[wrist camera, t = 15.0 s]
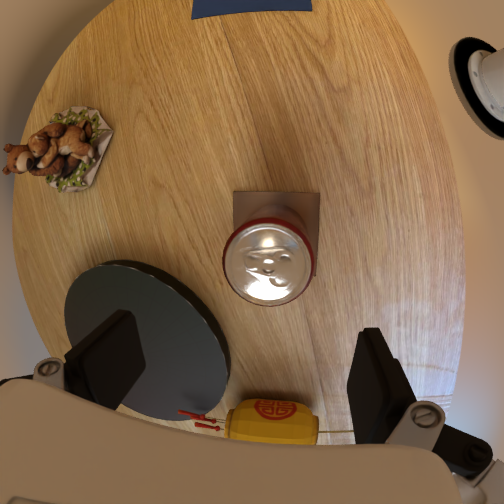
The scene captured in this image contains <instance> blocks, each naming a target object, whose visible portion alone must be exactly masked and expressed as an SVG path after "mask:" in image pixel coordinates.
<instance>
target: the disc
mask: <svg viewBox="0 0 504 504" xmlns="http://www.w3.org/2000/svg"><path fill="white" fill-rule="evenodd" d="M118 309H122V310H128V311H131V312H132V314H133V315H134V316H135V318H136V323H137V327H138V332H139V337H140V341H141V345H142V350H143V354H144V358H145V362H146V368H145V370H144V372H143V373H142V374H141V376H140V377H139V379H138V380H137V381H136V383H135V384H134V385H133V387H132V388H131V390H130V391H129V392H128V394H127V395H126V396H125V398H124V399H123V401H122V402H121V404H123V405H125V406H126V407H128V408H130V409H132V410H134V411H136V412H138V413H141V414H144V415H147V416H150V417H153V418H157V419H162V420H171V421H183V420H190V416H189V415H183V414H178V410H179V409H180V410H183V411H187V412H191V413H195V414H199V415H201V414H204V415H205V414H206V413H208V412H209V411H211V410H212V409H214V408H215V406H216V405H217V404H218V403H219V401H220V400H221V399H222V397H223V394H224V391H225V389H226V385H227V382H228V379H229V376H230V366H231V359H230V353H229V347H228V344H227V341H226V338H225V336H224V333H223V331H222V328H221V327H220V325H219V323H218V322H217V320H216V319H215V317H214V315H213V314H212V312H211V311H210V310H209V308H208V307H207V306H206V305H205V304H204V303H203V302H202V300H201V299H200V298H199V297H198V296H197V295H196V294H195V293H194V292H193V291H191V290H190V289H189V288H188V287H187V286H186V285H184V284H183V283H182V282H181V281H180V280H178V279H176V278H175V277H173V276H171V275H170V274H168V273H166V272H165V271H163V270H161V269H159V268H156V267H154V266H151V265H149V264H146V263H143V262H137V261H132V260H111V261H108V262H105V263H102V264H99V265H97V266H96V267H94V268H91V269H88V270H86V271H85V272H83V273H82V274H81V275H79V276H78V277H77V278H76V279H75V281H74V282H73V283H72V285H71V286H70V288H69V291H68V294H67V296H66V300H65V308H64V316H65V326H66V330H67V334H68V338H69V341H70V343H71V346H72V348H73V347H74V346H75V345H76V344H78V343H79V342H80V341H81V340H82V339H83V338H85V337H86V336H87V335H88V334H89V333H90V332H92V331H93V330H94V329H95V328H96V327H97V326H99V325H100V324H101V323H102V322H103V321H105V320H106V319H107V318H108V317H109V316H111V315H112V314H113V313H114V312H115V311H117V310H118Z"/></svg>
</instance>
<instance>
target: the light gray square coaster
mask: <svg viewBox="0 0 504 504" xmlns="http://www.w3.org/2000/svg"><path fill="white" fill-rule="evenodd" d="M270 204H281V205H286V206H288V207H290V208H292V209H294V210H295V211H297V212H298V213H299V214H300V216H301V217H302V218H303V220H304V221H305V224H306V227H307V230H308V233H309V237H310V240H311V244H312V247H313V251H314V257H315V270H314V274H313V276H314V277H315V276H316V266H317V250H318V232H319V209H320V193H304V192H262V191H234V192H233V223H234V231H235V230H236V229H237V228H238V227H239V226H240V225H241V224H242V223H243V222H244V221H246V220H247V219H248V218H249V217H250V216H251V215H252V214H253V213H254V212H255V211H256V210H258V209H259V208H261V207H264V206H266V205H270Z"/></svg>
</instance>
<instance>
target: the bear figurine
mask: <svg viewBox="0 0 504 504" xmlns="http://www.w3.org/2000/svg"><path fill="white" fill-rule="evenodd" d="M88 108H90V107H88ZM90 109H92V108H90ZM51 121H52V122H50V121H49V122H50V125H47V126H45V127H44V128H43V129H41V130H39V131H38V132H37V133H35V134H33V135H32V136H31V137H30V138H29V140H28V144H27V145H11V144H6V145H5V148H4V150H5V151H6V152H7V153H8V155H7V157H8V158H7V165H6V167H5V168H4V169H3V170H2V171H3V173H4V174H5V175H8V174H9V173H10V172H13V173H18V174H22V173H24V172H27V171H29V172H30V173H32V175H34V176H46V181H47V183H49V185H50V186H52V187H55V188H57V189H58V190H59V191H58V192H60V193H61V192H63V193H64V192H66V191H70V192H78V191H80V190H83V189H86V188H88V187H89V186H90V185H91V184H92V181H93V179H94V176H95V174H96V171H97V169H98V166H99V164H100V162H101V158H102V156H103V154H104V151H105V149H106V147H107V145H108V142H109V140H110V138H111V136H112V134H113V129H112V130H111V129H110V127H109V126H108V125H107V124H106V122H105V121H104V120H103V119H102V118H101V116H100V114H99V111H97V110H95V109H92V111H90V110H88V109H87V107H86V106H71V107H70V108H69V109H68V110H65V111H63V112H59V114H58V113H55V114H54V115H53V117H52V118H51Z"/></svg>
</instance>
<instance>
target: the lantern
mask: <svg viewBox="0 0 504 504" xmlns="http://www.w3.org/2000/svg"><path fill="white" fill-rule="evenodd" d="M178 414H183V415H189V416H190V419H196V420H202V421H210V422H212V423H213V424H214V423H216V422H219V421H216V418H212V419H207V418H210V417H206V418H205V415H204V414H201V415H199V414H195V413H191V412H187V411H183V410H180V409H179V410H178ZM217 420H222V419H217ZM223 421H226V424H225V429H222V430H225V433H224V436H225V438H229V439H236V440H244V441H252V442H263V443H276V444H296V445H316V443H317V439H318V433H342V432H354V430H350V431H319V419H318V416H315V415H313V414H312V412H311V410H310V409H309V408H308V407H306V406H305V405H304V404H301V403H298V402H294V401H280V400H267V399H257V398H255V399H248V400H244V401H243V402H241V403H240V404H239V405H237V407H236V408H235V409H230V410H229V412H228V414H227V418H226V420H223ZM221 423H225V422H221ZM195 426H196V427H203V428H210V429H215V430H216V431H219V430H220V427H219V426H216V427H214V426H210V425H206V424H202V423H198V422H195Z"/></svg>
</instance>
